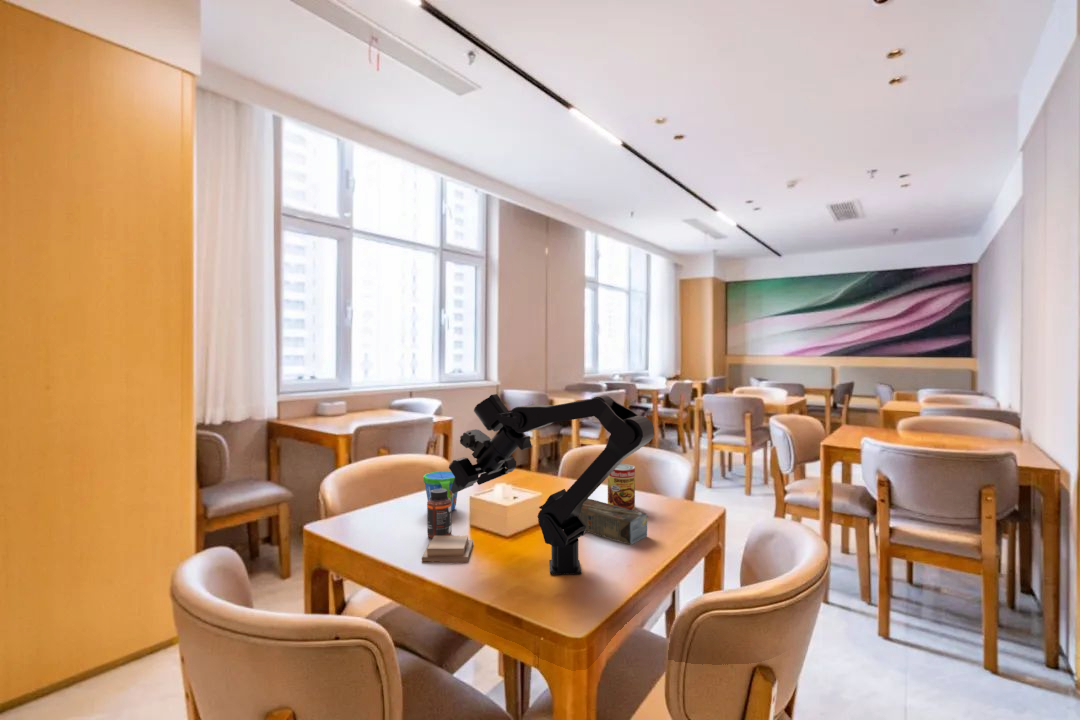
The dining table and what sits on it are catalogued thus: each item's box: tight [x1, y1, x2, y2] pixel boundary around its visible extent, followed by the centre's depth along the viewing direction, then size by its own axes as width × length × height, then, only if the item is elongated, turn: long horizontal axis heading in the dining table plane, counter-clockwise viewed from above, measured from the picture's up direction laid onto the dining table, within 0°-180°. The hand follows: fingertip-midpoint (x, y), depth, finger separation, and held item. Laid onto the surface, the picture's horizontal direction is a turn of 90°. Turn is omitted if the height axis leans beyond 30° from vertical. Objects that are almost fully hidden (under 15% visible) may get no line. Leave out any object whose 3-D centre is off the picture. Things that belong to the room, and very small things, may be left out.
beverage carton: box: [578, 498, 648, 545], centre depth 132 cm, size 8×19×7 cm, turn 47°
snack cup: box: [422, 470, 459, 512], centre depth 150 cm, size 16×10×10 cm
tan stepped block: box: [421, 534, 474, 563], centre depth 118 cm, size 10×10×2 cm
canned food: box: [607, 463, 636, 511], centre depth 152 cm, size 8×8×12 cm
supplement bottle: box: [426, 489, 453, 539], centre depth 129 cm, size 6×6×11 cm
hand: (465, 487), depth 124 cm, fingers open, 9 cm apart
